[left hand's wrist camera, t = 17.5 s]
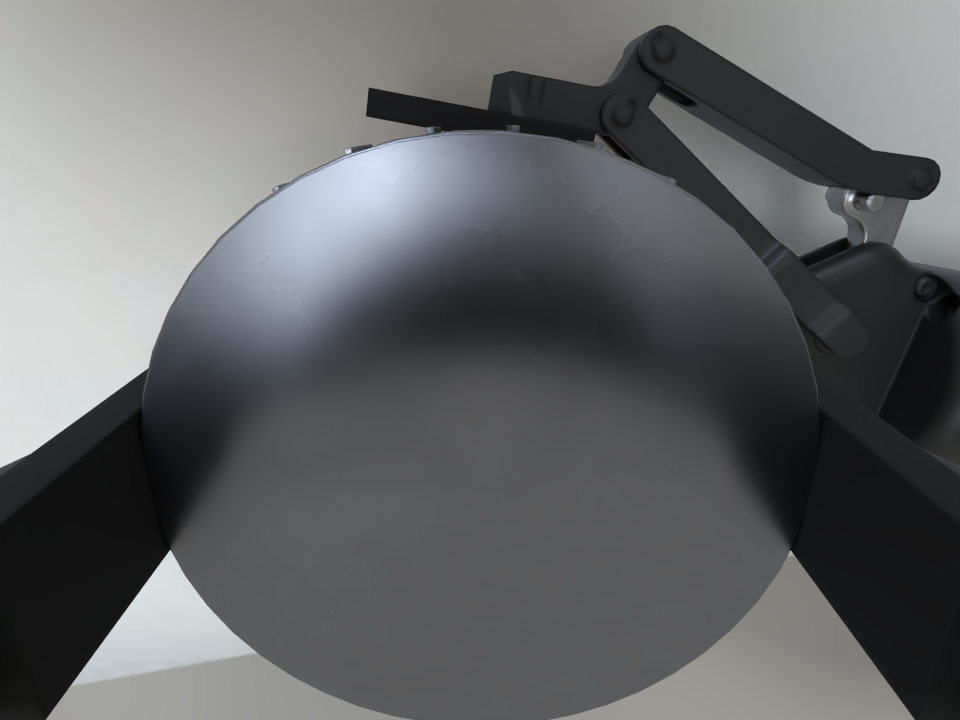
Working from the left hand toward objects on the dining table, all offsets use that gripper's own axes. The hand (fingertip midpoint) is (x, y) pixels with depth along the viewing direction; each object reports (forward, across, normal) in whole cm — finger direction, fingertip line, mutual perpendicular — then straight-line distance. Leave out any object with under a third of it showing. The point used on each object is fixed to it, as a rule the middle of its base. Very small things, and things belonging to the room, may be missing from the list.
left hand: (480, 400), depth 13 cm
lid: (-3, 0, 0) cm, 3 cm away
